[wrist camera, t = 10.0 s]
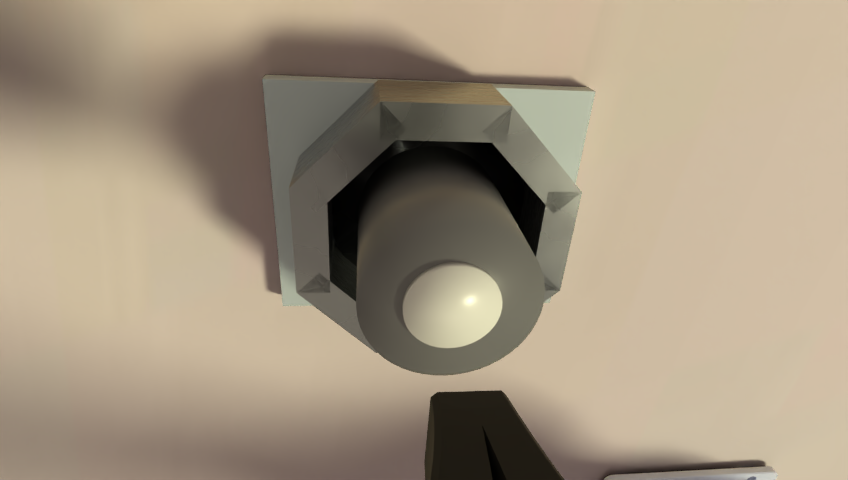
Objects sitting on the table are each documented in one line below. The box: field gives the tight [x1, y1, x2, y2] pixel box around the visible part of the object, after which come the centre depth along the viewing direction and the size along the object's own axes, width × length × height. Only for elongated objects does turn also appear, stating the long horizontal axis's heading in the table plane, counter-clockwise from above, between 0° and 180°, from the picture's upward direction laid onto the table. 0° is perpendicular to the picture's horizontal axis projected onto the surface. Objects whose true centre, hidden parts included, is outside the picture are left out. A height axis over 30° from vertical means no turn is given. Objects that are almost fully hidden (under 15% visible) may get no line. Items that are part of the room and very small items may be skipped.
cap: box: [356, 146, 545, 375], centre depth 15 cm, size 5×5×5 cm
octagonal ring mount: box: [289, 80, 582, 353], centre depth 16 cm, size 8×8×2 cm
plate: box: [262, 75, 595, 306], centre depth 17 cm, size 10×8×1 cm
